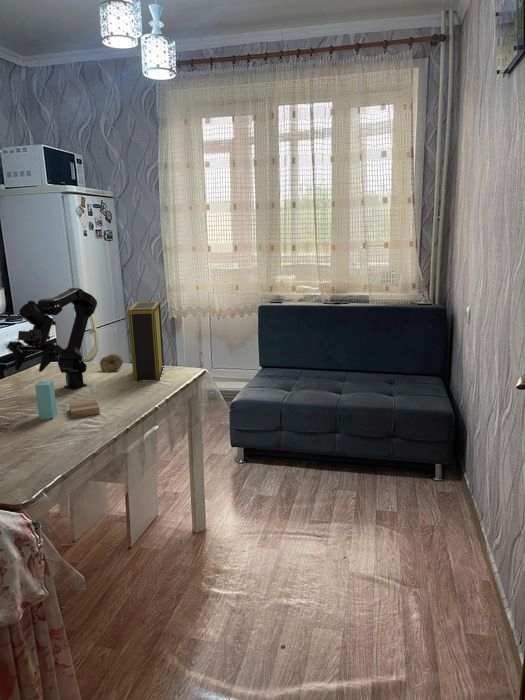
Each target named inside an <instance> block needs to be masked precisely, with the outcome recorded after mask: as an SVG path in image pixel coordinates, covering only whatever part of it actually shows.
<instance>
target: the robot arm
mask: <svg viewBox="0 0 525 700" xmlns="http://www.w3.org/2000/svg"><path fill="white" fill-rule="evenodd" d="M69 304H72V305H73V309H74V312H75V317H74V321H73V324H72V328H71V331H70V336H69V340H68V343H67V346H66V347H65V348H63V347H61V345H59V344H58V343H56V342H47V341H48V340H51V336H50V332H51V329H52V326H56V325H57V323H56V321H55V319H54V317H50V316H57V315H59V314H60V313H61V312H62V311H63V308H64V307H65V306H68V305H69ZM97 306H98V300H97V299H96V298H95V296H93V294H90V293H88V292H86V291H84V290H83V288H80V287H72V288H71V287H70V288H68V289H67V290H66V291H64V292H62V293H59V294H58V295H56V296H54V297H49V298H48V297H47V298H41V299H39V300H38V301H37V302H35V301H34V300H28V301H27V303H25V304H24V305H22V307H20V309H19V315H20V317H21V318H23V319H24V320H26V322H28V324H30V325H33V327H32V329H29V330H19V331H18V335H17V336H18V337H17V340H18V341H11V340H10V341H9V342H8V344H7V346H6V349H8V350H9V351H10V352H11V353H12V354H13V356H14V368H15V371H17V372H18V371H19V370H20V369H21V367H22V365H23V363H24V361H25V359H26V357H27V355H26V354H27V352H42V357H41V361H40V364H39V367H38V372H40V373H42V372H43V371H44V369H46V368H47V367H48V365H50V364H51V363H52V362H53V361H55V359H57V365H58V367H59V370H60V373H62V374H64V373H65V382H66V385H63V388H65V389H70V390H77V389H80V388H82V387H86V386H87V385H88V384H87V383H84V376H83V374H84V373H86V372H87V367H88V366H87V364H86V363H85V362H84V361H83V355H82V352H81V347H82V344H83V343H82V342H83V341H84V335H85V332H86V328H87V325H88V321H89V318H90V317H92V315H93V314H94V313H95V311H96V309H97ZM21 341H23V343H24V344H23V343H22V342H21ZM25 344H26V345H25Z"/></svg>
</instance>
